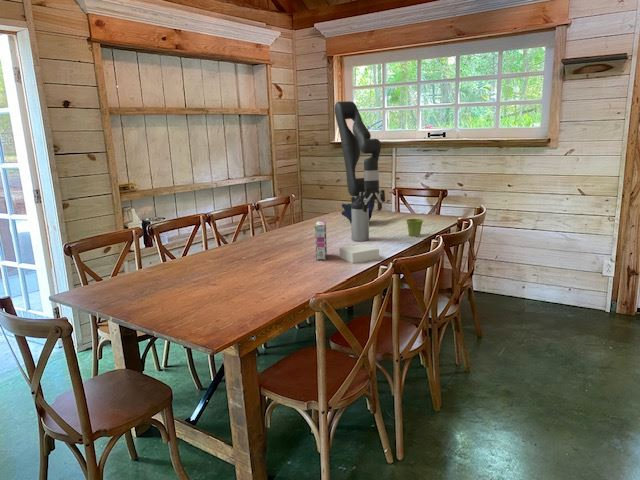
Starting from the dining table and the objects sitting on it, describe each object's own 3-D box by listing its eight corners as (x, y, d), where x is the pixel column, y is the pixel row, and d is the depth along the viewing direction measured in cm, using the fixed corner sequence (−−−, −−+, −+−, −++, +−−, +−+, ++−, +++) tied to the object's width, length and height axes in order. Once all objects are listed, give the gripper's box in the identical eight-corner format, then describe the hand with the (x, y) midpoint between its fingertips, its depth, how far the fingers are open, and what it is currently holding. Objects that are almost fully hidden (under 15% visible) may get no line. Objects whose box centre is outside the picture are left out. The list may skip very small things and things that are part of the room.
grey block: (339, 258, 221) (339, 247, 220) (365, 254, 227) (365, 243, 226) (352, 264, 211) (352, 253, 210) (379, 259, 217) (378, 248, 216)
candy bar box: (326, 260, 217) (325, 225, 214) (316, 260, 218) (314, 225, 214) (327, 254, 228) (326, 220, 225) (317, 254, 229) (315, 221, 225)
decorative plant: (349, 240, 297) (347, 219, 324) (387, 224, 292) (382, 204, 318) (335, 213, 288) (334, 194, 315) (374, 196, 283) (370, 178, 309)
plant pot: (424, 234, 264) (425, 218, 262) (420, 237, 256) (421, 222, 254) (408, 233, 268) (408, 218, 266) (404, 236, 260) (404, 221, 258)
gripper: (379, 178, 244) (380, 209, 247) (355, 180, 238) (356, 212, 241) (387, 178, 237) (388, 210, 240) (363, 180, 231) (364, 213, 234)
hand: (372, 211), depth 241 cm, fingers open, 8 cm apart
